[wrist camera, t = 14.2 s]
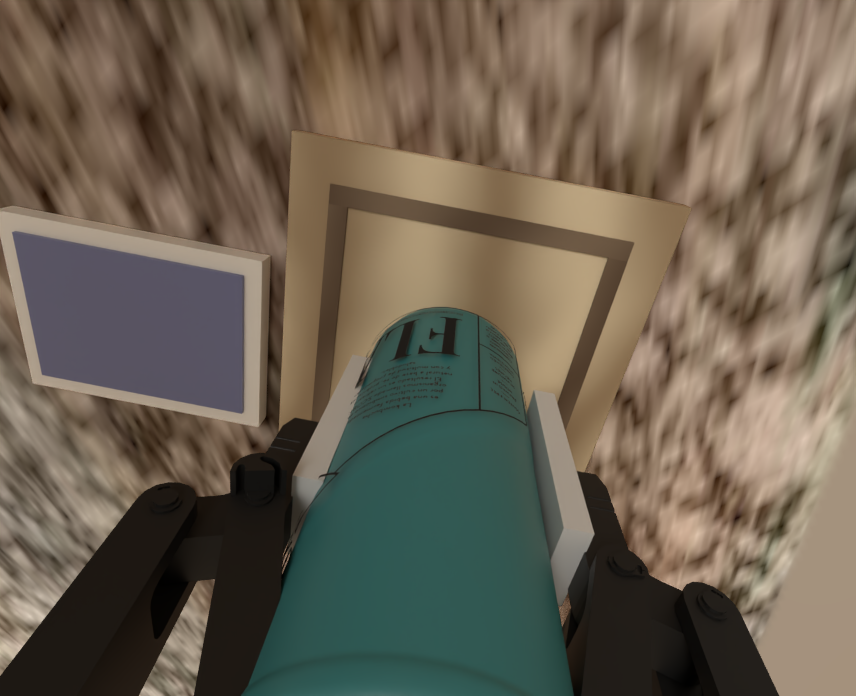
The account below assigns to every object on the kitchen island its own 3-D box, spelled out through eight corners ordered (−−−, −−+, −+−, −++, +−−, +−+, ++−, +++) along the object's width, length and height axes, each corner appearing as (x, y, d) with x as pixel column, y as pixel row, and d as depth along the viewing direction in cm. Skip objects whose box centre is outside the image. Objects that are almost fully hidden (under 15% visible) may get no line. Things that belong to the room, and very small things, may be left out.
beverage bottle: (473, 259, 20) (481, 1900, 2) (546, 384, 22) (883, 1657, 4) (343, 331, 21) (-309, 1453, 4) (422, 440, 24) (267, 1463, 6)
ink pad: (47, 374, 26) (29, 385, 25) (13, 205, 22) (-11, 210, 21) (266, 416, 26) (257, 429, 25) (270, 255, 22) (260, 263, 21)
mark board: (283, 442, 27) (277, 452, 26) (298, 129, 20) (290, 130, 19) (567, 497, 27) (570, 509, 26) (683, 204, 20) (692, 208, 19)
